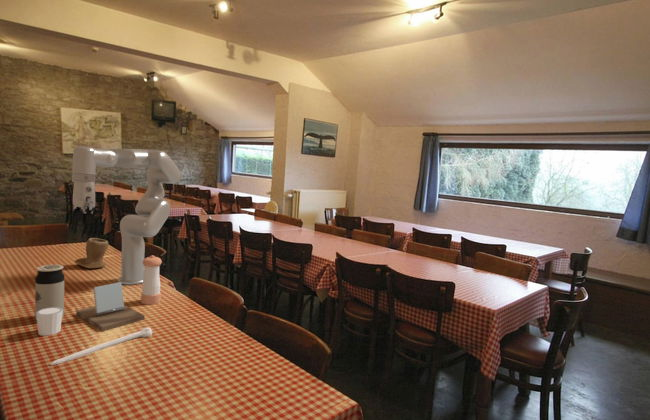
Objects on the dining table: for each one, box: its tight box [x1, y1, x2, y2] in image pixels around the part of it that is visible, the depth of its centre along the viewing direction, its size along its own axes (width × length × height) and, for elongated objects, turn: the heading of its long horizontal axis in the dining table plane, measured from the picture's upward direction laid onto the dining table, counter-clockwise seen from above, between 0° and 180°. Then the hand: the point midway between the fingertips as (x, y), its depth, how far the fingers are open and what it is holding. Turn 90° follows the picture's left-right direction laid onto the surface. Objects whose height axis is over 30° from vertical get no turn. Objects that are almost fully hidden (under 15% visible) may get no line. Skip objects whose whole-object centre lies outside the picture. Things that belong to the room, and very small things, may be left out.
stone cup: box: [74, 237, 109, 269], centre depth 188 cm, size 15×12×15 cm
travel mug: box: [34, 264, 65, 321], centre depth 125 cm, size 8×8×18 cm
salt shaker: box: [140, 255, 163, 305], centre depth 146 cm, size 7×7×19 cm
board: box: [75, 304, 145, 332], centre depth 130 cm, size 20×14×2 cm
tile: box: [93, 282, 125, 316], centre depth 130 cm, size 10×9×1 cm
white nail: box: [50, 326, 153, 366], centre depth 108 cm, size 28×4×3 cm, turn 147°
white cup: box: [36, 307, 63, 337], centre depth 115 cm, size 7×7×7 cm
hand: (82, 222), depth 142 cm, fingers open, 9 cm apart
